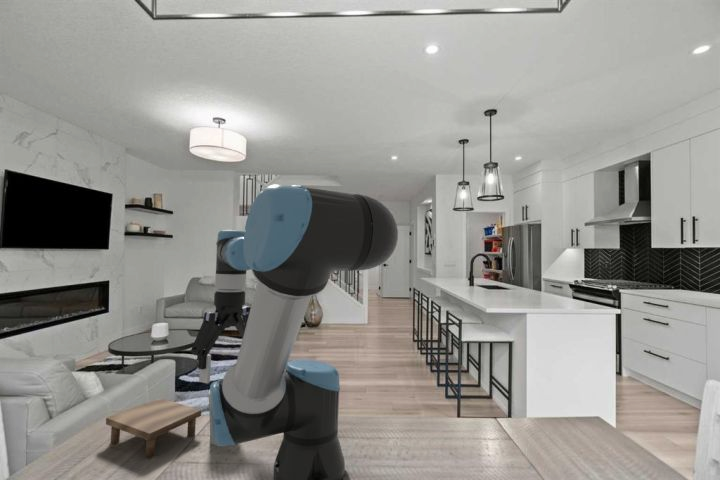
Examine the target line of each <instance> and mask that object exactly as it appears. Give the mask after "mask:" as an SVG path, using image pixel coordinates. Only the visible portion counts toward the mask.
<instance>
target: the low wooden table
mask: <svg viewBox="0 0 720 480" xmlns="http://www.w3.org/2000/svg"><path fill="white" fill-rule="evenodd" d="M201 416H202V409H200V408H196V407H192V406H189V405H185V404H182V403H179V402H175V401H172V400H168V399H166V398H162V397H159V398H157V399H154V400H151V401H148V402H146V403H143V404H140V405H137V406H134V407H131V408H129V409H127V410H124V411H121V412H118V413H115V414H113V415H111V416H108V417H106V418H105V425H106V426H109V427H111V428H110V431H111V432H110V444H111V445H115V444H118V443H120V439H121V431H123V432H126V433H128V434H132V435H134V436H136V437H139V438H141V439H144V440H145V456H144V457H145V459H152V458H154V457H155V455H156V453H155V451H156V438H157V437H159V436H161V435H163V434H166V433H168V432H170V431H172V430H175V429H176V428H179V427H180V426H183V425H185V424H187V431H186V432H187V433H186V435H187V437H189V438H191V437H194V436H195V435H196V420H197V418H199V417H201Z"/></svg>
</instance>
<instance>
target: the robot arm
mask: <svg viewBox="0 0 720 480" xmlns="http://www.w3.org/2000/svg"><path fill="white" fill-rule="evenodd" d="M398 238H399V230H398V224H397V222H396V220H395V218H394V216H393V213H392V212H391V210H389V208H388V207H387V206H385V204H383V203H382V202H381V201H379V200H378V199H376V198H373V197H370V196H367V195H363V194H359V193H358V194H356V193H354V194H353V193H347V192H340V191H332V190H327V189H326V190H325V189H318V188H314V187H313V188H312V187H306V186H304V185H300V184H292V185H287V184H286V185H285V184H272V185H269V186H266V187H265V188H264V189H262V190H261V191H260V192H259V193H258V194H257V196H256V197H255V198H254V199H253V202H252V204H251V206H250V209H249V212H248V215H247V218H246V221H245V226H244V230H235V229H234V230H232V229H226V230H225V229H221V230H219V231H218V232H217V240H216V242H215V243H216V258H215V259H216V262H215V280H214V289H215V292H214V294H213V306H215V310H214V312H212V311H205V312H204V314H203V320H202V324H201V325H200V328H199V330H198V333H197V335H196V338H195V340H194V342H193V344H192V347H191V349H190V353H191V354H194V355H197V368H198V369H199V375H198V382H200V383H203V384H210V383H211V384H210V385H209V390H210V403H211V416H212V427H213V435H214V440H215V443H216V444H217V445H216V446H218V447H227V446H237V445H239V444H243V443H247V442H251V441H256V440H259V439H263V438H267V437H271V436H275V435H279V434H283V436H282V440H281V443H280V446H279V449H278V450H277V451H278V452H277V455H276V457H275V459H274V463H273V474H272V475H273V480H341V479H342V478H343V476H344V477H345V473H344V472H346V471H345V469H346V467H345V466H346V462H345V457H344V453H343V451H342V446H341V443H340V440H339V439H340V438H339V436H338V435H339V434H338V433H339V431H338V429H339V404H340V390H341V386H340V373H339V371H338V369H337V368H336V367H334V365H332V364H330V363H326V362H323V361H319V360H314V359H293V360H290V361H289V359H290V356H291V354H292V351H293V348H294V346H295V342H296V340H297V338H298V334H299V333H300V329H301V327H302V323H303V321H304V319H305V316H306V313H307V310H308V308H309V305H310V302H311V299H312V297H314V296H316V295H319V294H320V293H321V292H323V291H324V290H325V288H326V287H327V284H328V282H329V279H330V277H331V274H332V273H333V272H335V271H336V272H344V271H345V272H346V271H348V272H349V271H351V272H353V271H367V270H371V269H373V268H377V267H380V266H381V265H382V264H384V263H385V262H386V261H388V259H390V257H391V256H392V254H394V251H395V249H396V247H397V244H398ZM250 270H251V273H252V275H253V277H254V278H255V280H256V281H257V282H256V283H257V284H256V288H255V291H254V294H253V297H252V301H251V306H248V305H245V304H246V291H245V289H246V288H247V271H250ZM231 327H235V329H236V330H237V332H238V333H239V335H240V337H241V338H242V341H241V343H240V348H239V352H238V355H237V359H236V363H234V364H233V365H231V366H230V368H228V370H227V371H226V372H225V374H224V376H223V379H221V378H220V379H217V380H216V381H215V380H214V381H213V382H211V369H212V368H211V366H212V365H211V364H212V354H209V353H210V352H211V350H212V349H213V346H214V345H215V344H216V342H217V340H218V339H219V336H220V335H221V333H222V332H223V331H225V329H229V328H231ZM343 479H344V478H343Z"/></svg>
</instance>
